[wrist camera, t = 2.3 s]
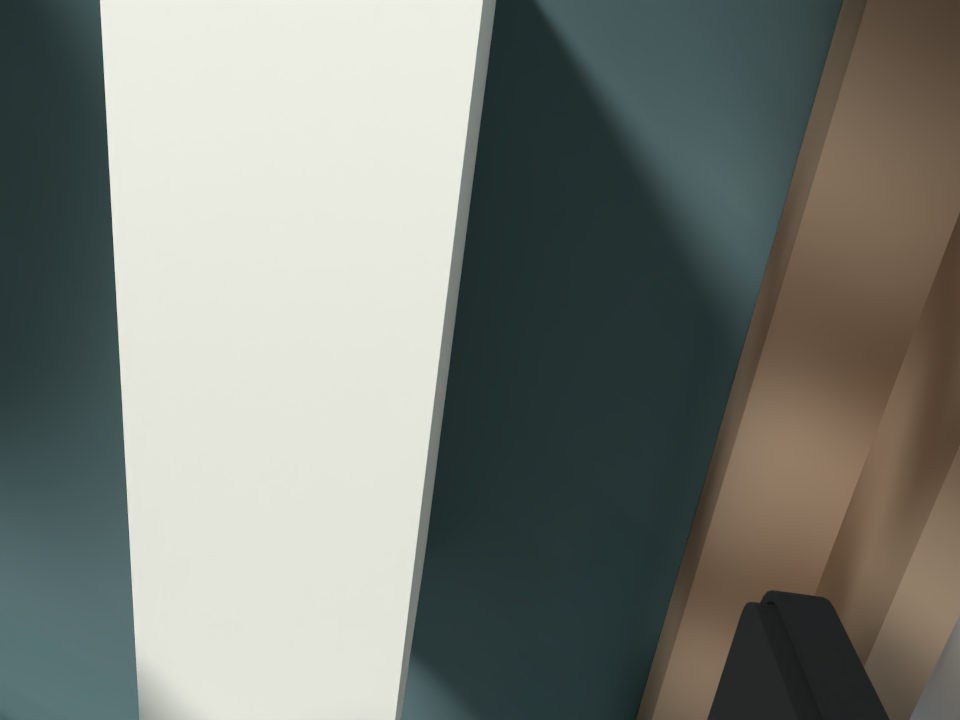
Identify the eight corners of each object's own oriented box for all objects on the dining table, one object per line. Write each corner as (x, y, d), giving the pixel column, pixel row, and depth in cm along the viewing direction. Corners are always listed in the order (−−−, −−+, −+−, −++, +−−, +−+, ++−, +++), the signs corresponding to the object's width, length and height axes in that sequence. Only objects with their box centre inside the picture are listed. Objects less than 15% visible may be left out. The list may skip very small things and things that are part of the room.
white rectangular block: (315, -75, 14) (93, -104, 7) (501, -49, 14) (487, -48, 7) (289, 534, 19) (149, 896, 12) (425, 552, 19) (370, 923, 12)
